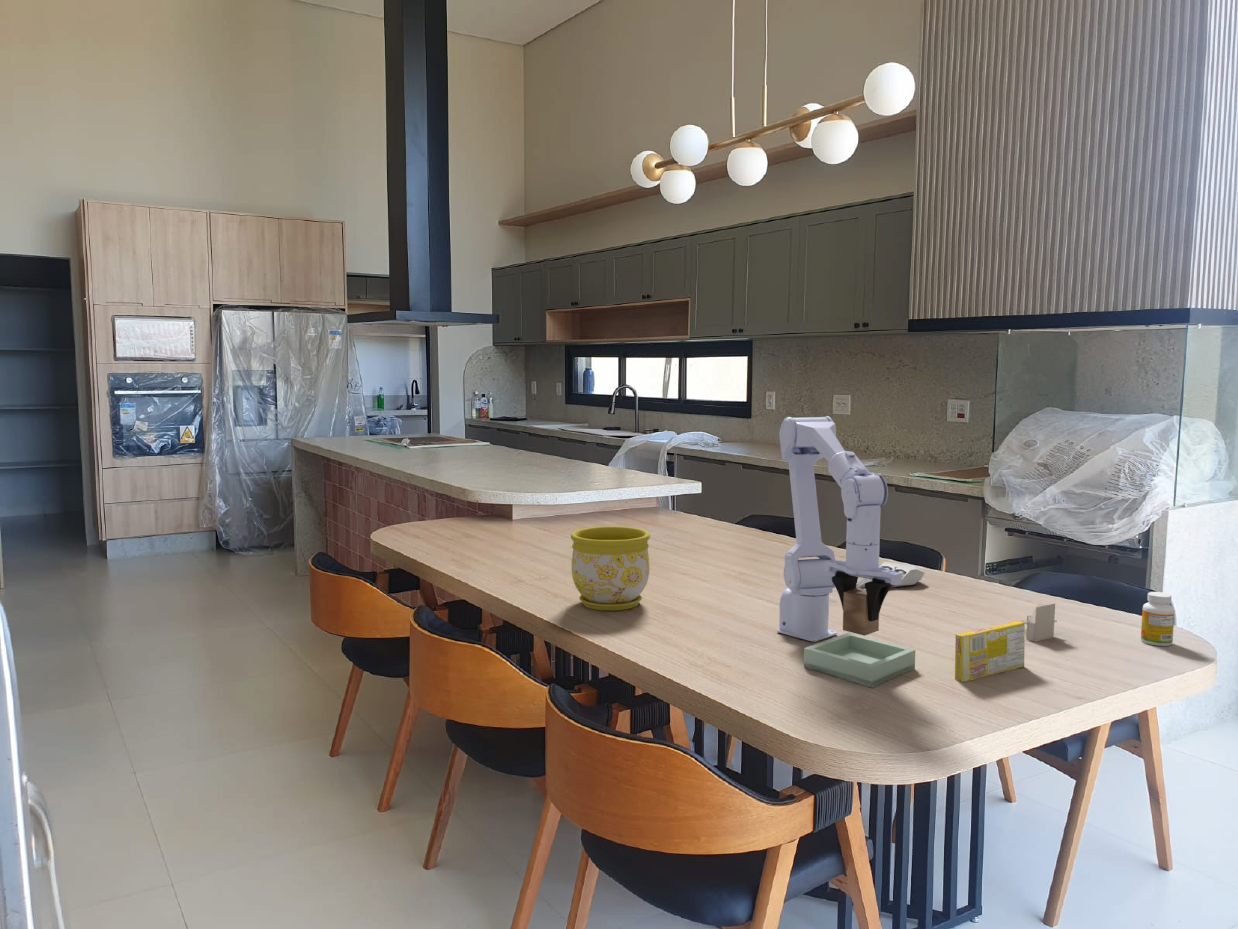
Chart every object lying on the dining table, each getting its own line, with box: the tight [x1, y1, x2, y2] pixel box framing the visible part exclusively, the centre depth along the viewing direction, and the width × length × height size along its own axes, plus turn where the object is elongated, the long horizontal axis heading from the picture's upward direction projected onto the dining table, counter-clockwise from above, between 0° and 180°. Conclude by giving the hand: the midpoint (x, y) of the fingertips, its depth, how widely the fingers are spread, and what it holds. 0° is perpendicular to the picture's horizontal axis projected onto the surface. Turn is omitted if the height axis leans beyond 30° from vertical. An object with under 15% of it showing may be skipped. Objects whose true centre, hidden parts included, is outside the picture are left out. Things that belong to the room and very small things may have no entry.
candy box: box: [954, 620, 1026, 683], centre depth 159 cm, size 16×2×8 cm, turn 119°
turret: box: [856, 561, 926, 589], centre depth 223 cm, size 10×20×5 cm, turn 123°
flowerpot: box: [570, 525, 651, 611], centre depth 205 cm, size 18×18×16 cm
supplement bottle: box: [1140, 591, 1176, 647], centre depth 176 cm, size 5×5×10 cm
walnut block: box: [842, 588, 880, 637], centre depth 161 cm, size 4×4×7 cm
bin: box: [803, 632, 916, 688], centre depth 162 cm, size 14×14×4 cm
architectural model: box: [1020, 602, 1058, 642], centre depth 180 cm, size 3×7×7 cm, turn 118°
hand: (860, 617), depth 161 cm, fingers closed on walnut block, 4 cm apart
